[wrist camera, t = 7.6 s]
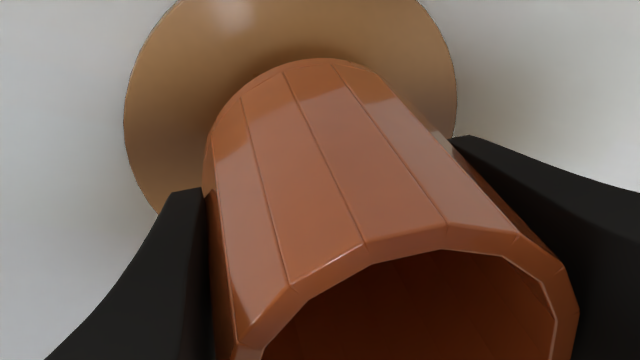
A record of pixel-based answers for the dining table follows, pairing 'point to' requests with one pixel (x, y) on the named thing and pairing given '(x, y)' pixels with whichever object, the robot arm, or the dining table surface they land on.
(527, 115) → the dining table surface
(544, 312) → the cup
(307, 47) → the coaster
